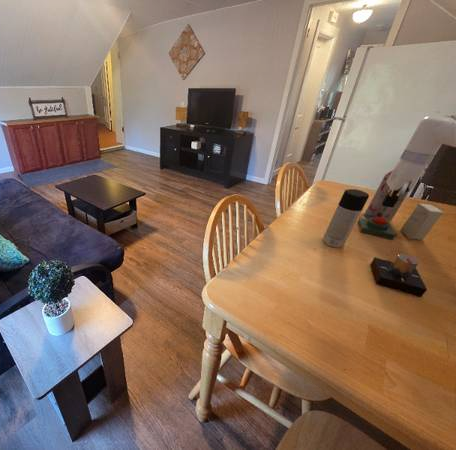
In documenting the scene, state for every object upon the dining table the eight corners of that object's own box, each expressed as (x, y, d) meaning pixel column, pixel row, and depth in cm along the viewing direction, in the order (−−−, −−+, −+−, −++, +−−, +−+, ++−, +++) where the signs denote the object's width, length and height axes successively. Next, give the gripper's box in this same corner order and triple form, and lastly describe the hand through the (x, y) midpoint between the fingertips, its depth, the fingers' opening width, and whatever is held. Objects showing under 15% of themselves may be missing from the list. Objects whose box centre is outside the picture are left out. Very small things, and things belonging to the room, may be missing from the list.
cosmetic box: (399, 230, 97) (417, 202, 90) (412, 231, 96) (431, 204, 89) (410, 239, 91) (429, 210, 85) (423, 240, 91) (444, 212, 84)
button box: (387, 228, 98) (392, 220, 95) (393, 239, 91) (398, 231, 89) (357, 222, 102) (361, 213, 100) (360, 232, 95) (365, 223, 93)
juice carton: (378, 222, 101) (408, 172, 90) (363, 215, 107) (389, 166, 95) (391, 221, 103) (421, 170, 91) (375, 213, 108) (402, 165, 97)
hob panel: (410, 275, 75) (416, 267, 73) (420, 297, 67) (427, 289, 66) (370, 264, 79) (374, 256, 77) (376, 284, 71) (381, 276, 70)
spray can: (348, 247, 87) (375, 196, 76) (331, 249, 86) (356, 197, 75) (333, 236, 92) (357, 187, 82) (317, 238, 91) (339, 188, 81)
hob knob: (387, 265, 74) (397, 251, 71) (406, 269, 72) (416, 256, 70) (391, 274, 71) (401, 260, 68) (411, 279, 69) (422, 265, 66)
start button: (383, 221, 95) (385, 218, 94) (385, 226, 92) (387, 222, 91) (372, 219, 96) (374, 215, 96) (373, 223, 94) (376, 219, 93)
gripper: (396, 150, 88) (371, 196, 98) (408, 161, 77) (378, 211, 87) (423, 153, 85) (394, 200, 95) (440, 165, 74) (405, 217, 84)
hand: (387, 205), depth 91 cm, fingers closed
